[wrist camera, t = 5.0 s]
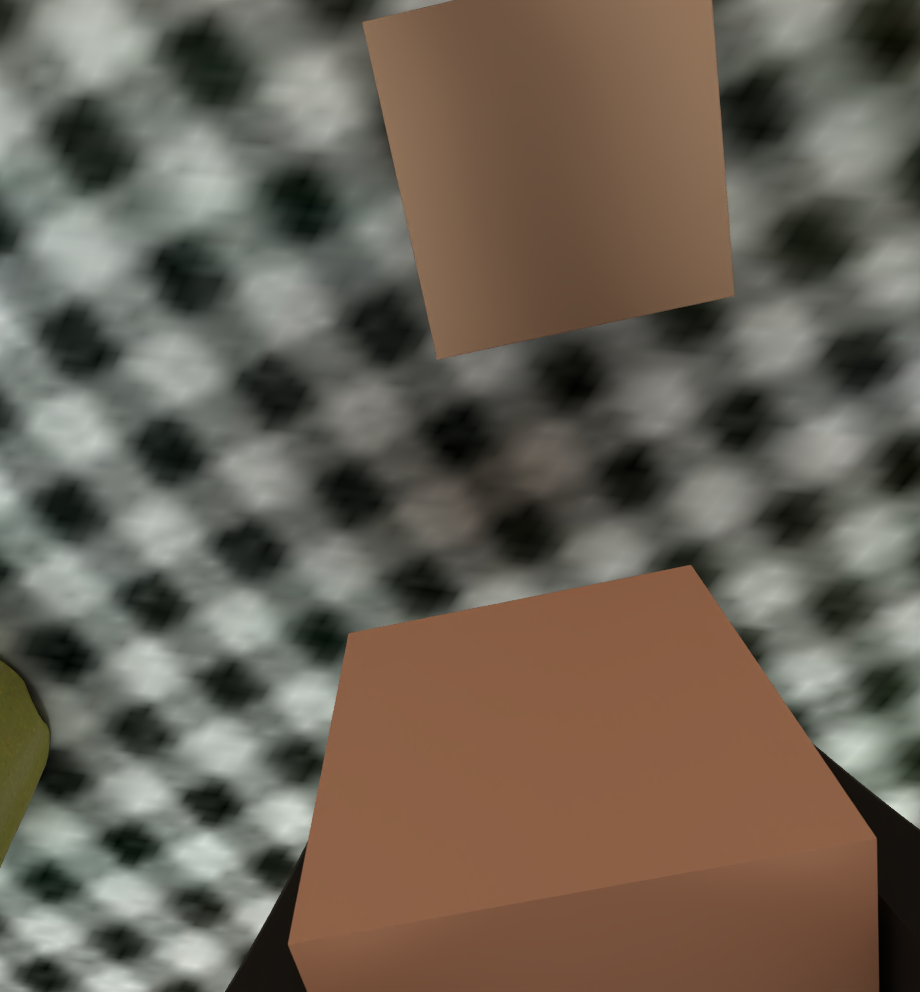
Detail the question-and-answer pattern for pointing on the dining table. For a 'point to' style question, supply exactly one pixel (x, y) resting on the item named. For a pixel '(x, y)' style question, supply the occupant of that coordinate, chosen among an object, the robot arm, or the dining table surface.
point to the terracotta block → (579, 810)
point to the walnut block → (555, 162)
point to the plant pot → (18, 753)
